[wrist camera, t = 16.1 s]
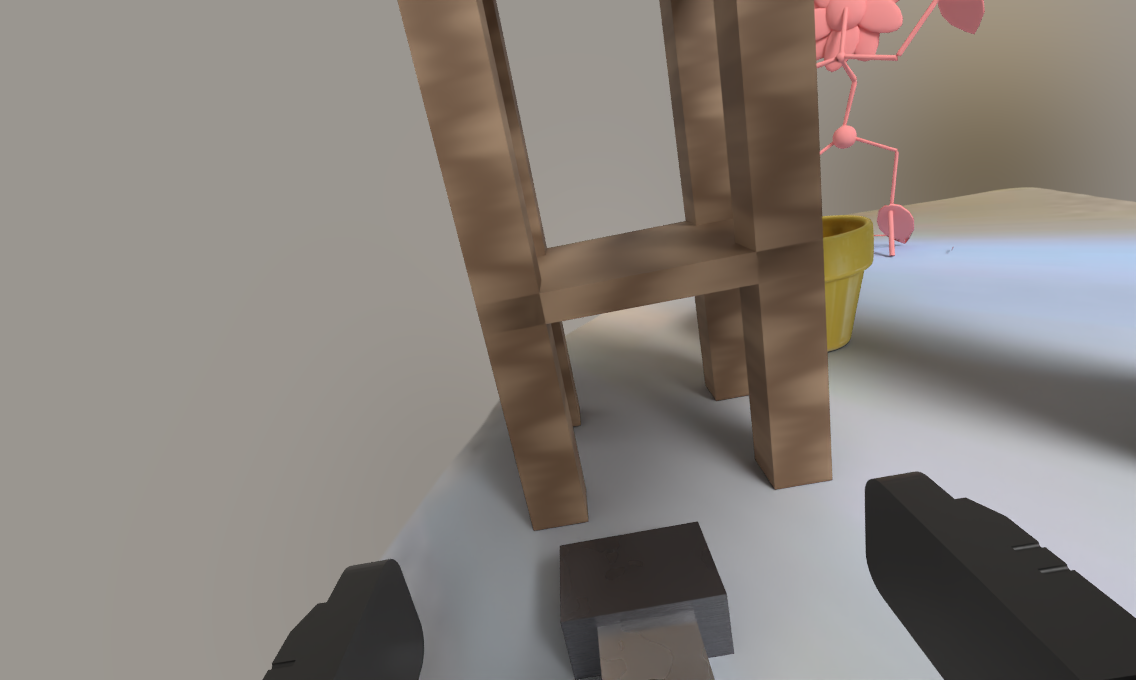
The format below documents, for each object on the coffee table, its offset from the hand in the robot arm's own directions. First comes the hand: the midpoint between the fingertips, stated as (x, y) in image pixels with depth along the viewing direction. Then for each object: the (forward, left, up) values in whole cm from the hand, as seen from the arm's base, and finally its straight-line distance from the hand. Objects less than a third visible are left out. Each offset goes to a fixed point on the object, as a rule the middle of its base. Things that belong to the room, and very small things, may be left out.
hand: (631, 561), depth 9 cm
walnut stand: (-3, -23, -11) cm, 26 cm away
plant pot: (-18, -35, -12) cm, 41 cm away
